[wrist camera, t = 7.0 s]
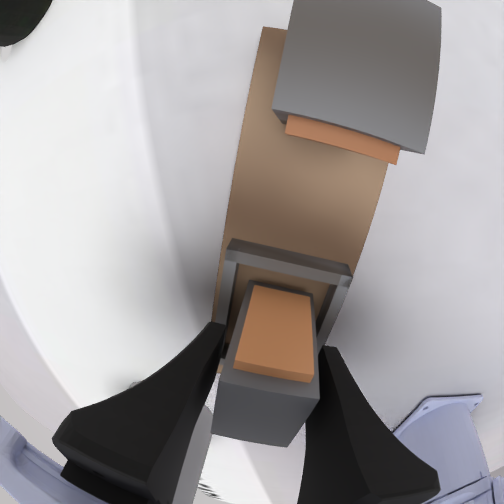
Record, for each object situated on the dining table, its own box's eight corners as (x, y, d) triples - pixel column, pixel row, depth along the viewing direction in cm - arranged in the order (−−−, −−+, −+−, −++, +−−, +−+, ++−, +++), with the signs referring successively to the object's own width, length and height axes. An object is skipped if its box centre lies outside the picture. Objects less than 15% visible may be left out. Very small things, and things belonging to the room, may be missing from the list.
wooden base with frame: (301, 376, 17) (297, 475, 10) (210, 356, 17) (175, 451, 10) (397, 70, 9) (491, 25, 2) (265, 35, 9) (233, -58, 3)
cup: (210, 442, 22) (186, 526, 13) (133, 416, 23) (96, 492, 14) (220, 400, 19) (186, 516, 10) (122, 367, 19) (64, 463, 10)
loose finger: (292, 348, 14) (287, 447, 9) (237, 336, 14) (210, 433, 9) (315, 286, 12) (324, 391, 7) (250, 272, 13) (220, 372, 7)
